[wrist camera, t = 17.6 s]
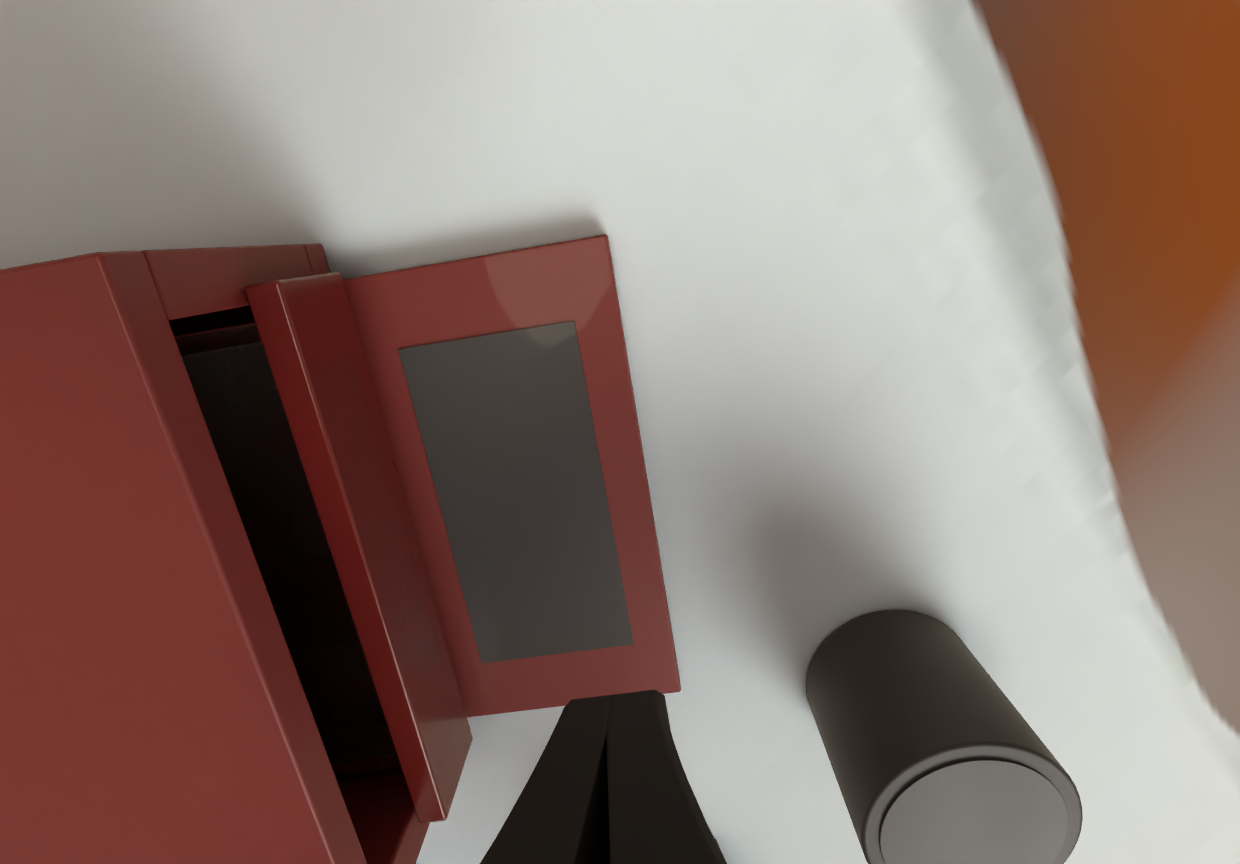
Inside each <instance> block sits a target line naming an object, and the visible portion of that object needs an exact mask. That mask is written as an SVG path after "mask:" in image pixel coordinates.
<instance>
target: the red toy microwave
mask: <svg viewBox="0 0 1240 864" xmlns="http://www.w3.org/2000/svg"><path fill="white" fill-rule="evenodd" d="M325 273H330V271H329V268H328V264H327V261H326V257H325V254H324V250H323V247H322V245H321V244H293V245H267V246H242V247H216V248H190V249H165V250H143V251H119V252H96V253H91V254H85V255H80V256H74V257H69V258H63V259H57V260H52V261H46V262H41V263H35V264H30V265H24V266H19V267H13V268H7V269H2V270H0V864H415V863H416V861H417V858H418V855H419V852H420V849H421V846H422V843H423V841H424V838H425V835H426V832H427V829H428V826H429V823H430V822H426V823H420V822H419V821H418V818H417V815H416V812H415V809H414V805H413V802H412V799H411V796H410V793H409V790H408V787H407V784H406V781H405V778H404V775H403V772H402V769H401V768H396V769H387V770H378V771H370V772H361V773H352V774H344V775H335V774H334V772H333V769H332V766H331V764H330V761H329V758H328V755H327V753H326V750H325V747H324V744H323V742H322V739H321V736H320V733H319V731H318V728H317V725H316V723H315V720H314V717H313V714H312V712H311V709H310V706H309V703H308V701H307V698H306V695H305V693H304V690H303V687H302V684H301V682H300V679H299V676H298V673H297V671H296V668H295V665H294V663H293V660H292V657H291V654H290V652H289V649H288V646H287V643H286V641H285V638H284V635H283V632H282V630H281V627H280V624H279V622H278V619H277V616H276V613H275V611H274V608H273V605H272V602H271V600H270V597H269V594H268V592H267V589H266V586H265V583H264V581H263V578H262V575H261V572H260V570H259V567H258V564H257V562H256V559H255V556H254V553H253V551H252V548H251V545H250V542H249V540H248V537H247V534H246V531H245V529H244V526H243V523H242V521H241V518H240V515H239V512H238V510H237V507H236V504H235V501H234V499H233V496H232V493H231V491H230V488H229V485H228V482H227V480H226V477H225V474H224V471H223V469H222V466H221V463H220V461H219V458H218V455H217V452H216V450H215V447H214V444H213V441H212V439H211V436H210V433H209V430H208V428H207V425H206V422H205V420H204V417H203V414H202V411H201V409H200V406H199V403H198V400H197V398H196V395H195V392H194V390H193V387H192V384H191V381H190V379H189V376H188V373H187V370H186V368H185V365H184V362H183V360H182V357H181V354H180V351H179V349H178V346H177V343H176V340H175V338H174V335H173V333H178V332H184V331H190V330H196V329H202V328H208V327H214V326H220V325H226V324H232V323H237V322H243V321H249V320H254V317H253V314H252V311H251V308H250V305H249V302H248V298H247V295H246V292H245V287H246V286H247V285H251V284H257V283H262V282H268V281H274V280H281V279H288V278H295V277H303V276H310V275H317V274H325ZM343 281H344V285H345V288H346V292H347V295H348V299H349V303H350V306H351V310H352V313H353V317H354V320H355V324H356V327H357V331H358V334H359V338H360V341H361V345H362V349H363V352H364V356H365V359H366V363H367V366H368V370H369V373H370V377H371V380H372V384H373V387H374V391H375V395H376V398H377V402H378V405H379V409H380V412H381V416H382V419H383V423H384V426H385V430H386V434H387V437H388V441H389V444H390V448H391V451H392V455H393V458H394V462H395V465H396V469H397V472H398V476H399V480H400V483H401V487H402V490H403V494H404V497H405V501H406V504H407V508H408V511H409V515H410V518H411V522H412V526H413V529H414V533H415V536H416V540H417V543H418V547H419V550H420V554H421V557H422V561H423V565H424V568H425V572H426V575H427V579H428V582H429V586H430V589H431V593H432V596H433V600H434V603H435V607H436V611H437V614H438V618H439V621H440V625H441V628H442V632H443V635H444V639H445V642H446V646H447V649H448V653H449V657H450V660H451V664H452V667H453V671H454V674H455V678H456V681H457V685H458V688H459V692H460V696H461V699H462V703H463V706H464V710H465V713H466V717H474V716H482V715H490V714H498V713H507V712H515V711H523V710H532V709H540V708H548V707H557V706H565V705H567V704H568V703H569V701H570V700H572V699H580V698H589V697H597V696H605V695H613V694H622V693H630V692H638V691H646V690H655V689H656V690H657V691H659V692H660V693H662V694H665V693H673V692H680V690H681V687H680V678H679V671H678V665H677V659H676V653H675V647H674V641H673V634H672V628H671V622H670V616H669V610H668V604H667V597H666V591H665V585H664V579H663V573H662V567H661V561H660V554H659V548H658V542H657V536H656V530H655V524H654V517H653V511H652V505H651V499H650V493H649V487H648V480H647V474H646V468H645V462H644V456H643V450H642V443H641V437H640V431H639V425H638V419H637V413H636V406H635V400H634V394H633V388H632V382H631V376H630V369H629V363H628V357H627V351H626V345H625V339H624V332H623V326H622V320H621V314H620V308H619V302H618V295H617V289H616V283H615V277H614V271H613V265H612V258H611V252H610V246H609V240H608V236H607V235H599V236H593V237H587V238H582V239H576V240H570V241H564V242H558V243H552V244H547V245H541V246H535V247H529V248H523V249H518V250H512V251H506V252H500V253H494V254H488V255H483V256H477V257H471V258H465V259H459V260H453V261H448V262H442V263H436V264H430V265H424V266H419V267H413V268H407V269H401V270H395V271H389V272H384V273H378V274H372V275H366V276H360V277H354V278H349V279H343Z"/></svg>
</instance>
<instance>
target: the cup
mask: <svg viewBox="0 0 1240 864" xmlns="http://www.w3.org/2000/svg"><path fill="white" fill-rule="evenodd" d="M806 692H807V698H808V702H809V705H810V708H811V710H812V713H813V716H814V719H815V721H816V724H817V727H818V730H819V732H820V735H821V738H822V740H823V743H824V746H825V749H826V751H827V754H828V757H829V760H830V762H831V765H832V768H833V771H834V773H835V776H836V779H837V781H838V784H839V787H840V790H841V792H842V795H843V798H844V801H845V803H846V806H847V809H848V811H849V814H850V817H851V820H852V822H853V825H854V828H855V831H856V833H857V836H858V839H859V842H860V844H861V847H862V850H863V852H864V855H865V858H866V860H867V862H868V864H1064V862H1065V861H1066V860H1067V858H1068V857H1069V855H1070V854H1071V852H1072V851H1073V849H1074V847H1075V845H1076V843H1077V841H1078V837H1079V834H1080V831H1081V825H1082V806H1081V801H1080V797H1079V794H1078V791H1077V789H1076V786H1075V784H1074V783H1073V781H1072V780H1071V778H1070V776H1069V775H1068V774H1067V773H1066V771H1065V770H1064V769H1063V767H1062V766H1061V765H1060V764H1059V762H1058V761H1057V760H1056V759H1055V757H1054V756H1053V755H1052V754H1051V752H1050V751H1049V750H1048V749H1047V747H1046V746H1045V745H1044V744H1043V742H1042V741H1041V740H1040V739H1039V737H1038V736H1037V735H1036V734H1035V732H1034V731H1033V730H1032V728H1031V727H1030V726H1029V725H1028V723H1027V722H1026V721H1025V720H1024V718H1023V717H1022V716H1021V715H1020V713H1019V712H1018V711H1017V710H1016V708H1015V707H1014V706H1013V705H1012V703H1011V702H1010V701H1009V700H1008V698H1007V697H1006V696H1005V695H1004V693H1003V692H1002V691H1001V689H1000V688H999V687H998V686H997V684H996V683H995V682H994V681H993V679H992V678H991V677H990V676H989V674H988V673H987V672H986V671H985V669H984V668H983V667H982V666H981V664H980V663H979V662H978V661H977V659H976V658H975V657H974V656H973V654H972V653H971V652H970V651H969V649H968V648H967V647H966V645H965V644H964V643H963V642H962V640H961V639H960V638H959V637H958V636H957V635H956V634H955V632H954V631H952V630H951V629H950V628H949V627H948V626H946V625H945V624H943V623H941V622H940V621H938V620H936V619H934V618H932V617H929V616H927V615H923V614H920V613H916V612H910V611H897V610H894V611H882V612H877V613H872V614H869V615H865V616H862V617H860V618H857V619H855V620H852V621H851V622H849V623H847V624H845V625H843V626H842V627H840V628H839V629H838V630H836V631H835V632H834V633H833V634H831V635H830V636H829V637H828V638H827V639H826V640H825V641H824V643H823V644H822V645H821V646H820V647H819V649H818V650H817V652H816V654H815V655H814V657H813V659H812V661H811V664H810V667H809V670H808V674H807V681H806Z"/></svg>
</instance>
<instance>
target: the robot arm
mask: <svg viewBox="0 0 1240 864" xmlns="http://www.w3.org/2000/svg"><path fill="white" fill-rule="evenodd" d="M480 864H727V863H726V861H725V859H724V857H723V855H722V853H721V852H720V850H719V848H718V846H717V844H716V842H715V840H714V837H713V835H712V833H711V831H710V829H709V827H708V825H707V823H706V821H705V819H704V816H703V814H702V812H701V809H700V807H699V805H698V803H697V800H696V798H695V796H694V793H693V791H692V789H691V787H690V784H689V782H688V780H687V777H686V775H685V772H684V770H683V767H682V764H681V762H680V759H679V756H678V753H677V750H676V747H675V744H674V741H673V738H672V734H671V730H670V724H669V719H668V713H667V707H666V701H665V696H664V695H663V694H662V693H660V692H659V691H657V690H656V689H655V690H646V691H638V692H630V693H622V694H613V695H605V696H597V697H589V698H580V699H572V700H570V701H569V703H568V704H567V705H566V706H565V707H564V710H563V712H562V714H561V716H560V718H559V721H558V723H557V725H556V727H555V729H554V731H553V733H552V735H551V737H550V739H549V741H548V743H547V745H546V747H545V749H544V751H543V753H542V755H541V757H540V759H539V761H538V763H537V765H536V767H535V769H534V771H533V773H532V775H531V776H530V778H529V780H528V782H527V784H526V786H525V787H524V789H523V791H522V793H521V795H520V796H519V798H518V800H517V802H516V804H515V805H514V807H513V809H512V811H511V812H510V814H509V816H508V818H507V820H506V821H505V823H504V825H503V827H502V828H501V830H500V832H499V834H498V835H497V837H496V839H495V840H494V842H493V844H492V845H491V847H490V848H489V850H488V852H487V853H486V855H485V856H484V858H483V860H482V861H481V863H480Z"/></svg>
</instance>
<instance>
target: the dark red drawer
mask: <svg viewBox="0 0 1240 864" xmlns="http://www.w3.org/2000/svg"><path fill="white" fill-rule="evenodd" d="M245 292H246V295H247V298H248V302H249V305H250V308H251V311H252V314H253V317H254V320H249V321H243V322H237V323H232V324H226V325H220V326H214V327H208V328H202V329H196V330H190V331H184V332H178V333H173V335H174V338H175V340H176V343H177V346H178V349H179V351H180V354H181V357H182V360H183V362H184V365H185V368H186V370H187V373H188V376H189V379H190V381H191V384H192V387H193V390H194V392H195V395H196V398H197V400H198V403H199V406H200V409H201V411H202V414H203V417H204V420H205V422H206V425H207V428H208V430H209V433H210V436H211V439H212V441H213V444H214V447H215V450H216V452H217V455H218V458H219V461H220V463H221V466H222V469H223V471H224V474H225V477H226V480H227V482H228V485H229V488H230V491H231V493H232V496H233V499H234V501H235V504H236V507H237V510H238V512H239V515H240V518H241V521H242V523H243V526H244V529H245V531H246V534H247V537H248V540H249V542H250V545H251V548H252V551H253V553H254V556H255V559H256V562H257V564H258V567H259V570H260V572H261V575H262V578H263V581H264V583H265V586H266V589H267V592H268V594H269V597H270V600H271V602H272V605H273V608H274V611H275V613H276V616H277V619H278V622H279V624H280V627H281V630H282V632H283V635H284V638H285V641H286V643H287V646H288V649H289V652H290V654H291V657H292V660H293V663H294V665H295V668H296V671H297V673H298V676H299V679H300V682H301V684H302V687H303V690H304V693H305V695H306V698H307V701H308V703H309V706H310V709H311V712H312V714H313V717H314V720H315V723H316V725H317V728H318V731H319V733H320V736H321V739H322V742H323V744H324V747H325V750H326V753H327V755H328V758H329V761H330V764H331V766H332V769H333V772H334V774H335V775H344V774H352V773H361V772H370V771H378V770H387V769H396V768H401V769H402V772H403V775H404V778H405V781H406V784H407V787H408V790H409V793H410V796H411V799H412V802H413V805H414V809H415V812H416V815H417V818H418V821H419V822H420V823H426V822H435V821H444V820H446V819H447V816H448V813H449V810H450V807H451V804H452V800H453V797H454V794H455V791H456V788H457V785H458V782H459V779H460V776H461V773H462V769H463V766H464V763H465V760H466V757H467V754H468V751H469V748H470V745H471V742H472V734H471V731H470V727H469V724H468V720H467V717H466V713H465V710H464V706H463V703H462V699H461V696H460V692H459V688H458V685H457V681H456V678H455V674H454V671H453V667H452V664H451V660H450V657H449V653H448V649H447V646H446V642H445V639H444V635H443V632H442V628H441V625H440V621H439V618H438V614H437V611H436V607H435V603H434V600H433V596H432V593H431V589H430V586H429V582H428V579H427V575H426V572H425V568H424V565H423V561H422V557H421V554H420V550H419V547H418V543H417V540H416V536H415V533H414V529H413V526H412V522H411V518H410V515H409V511H408V508H407V504H406V501H405V497H404V494H403V490H402V487H401V483H400V480H399V476H398V472H397V469H396V465H395V462H394V458H393V455H392V451H391V448H390V444H389V441H388V437H387V434H386V430H385V426H384V423H383V419H382V416H381V412H380V409H379V405H378V402H377V398H376V395H375V391H374V387H373V384H372V380H371V377H370V373H369V370H368V366H367V363H366V359H365V356H364V352H363V349H362V345H361V341H360V338H359V334H358V331H357V327H356V324H355V320H354V317H353V313H352V310H351V306H350V303H349V299H348V295H347V292H346V288H345V285H344V281H343V278H342V275H341V273H340V272H332V273H325V274H317V275H310V276H303V277H295V278H288V279H281V280H274V281H268V282H262V283H257V284H251V285H247V286H246V287H245Z"/></svg>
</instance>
